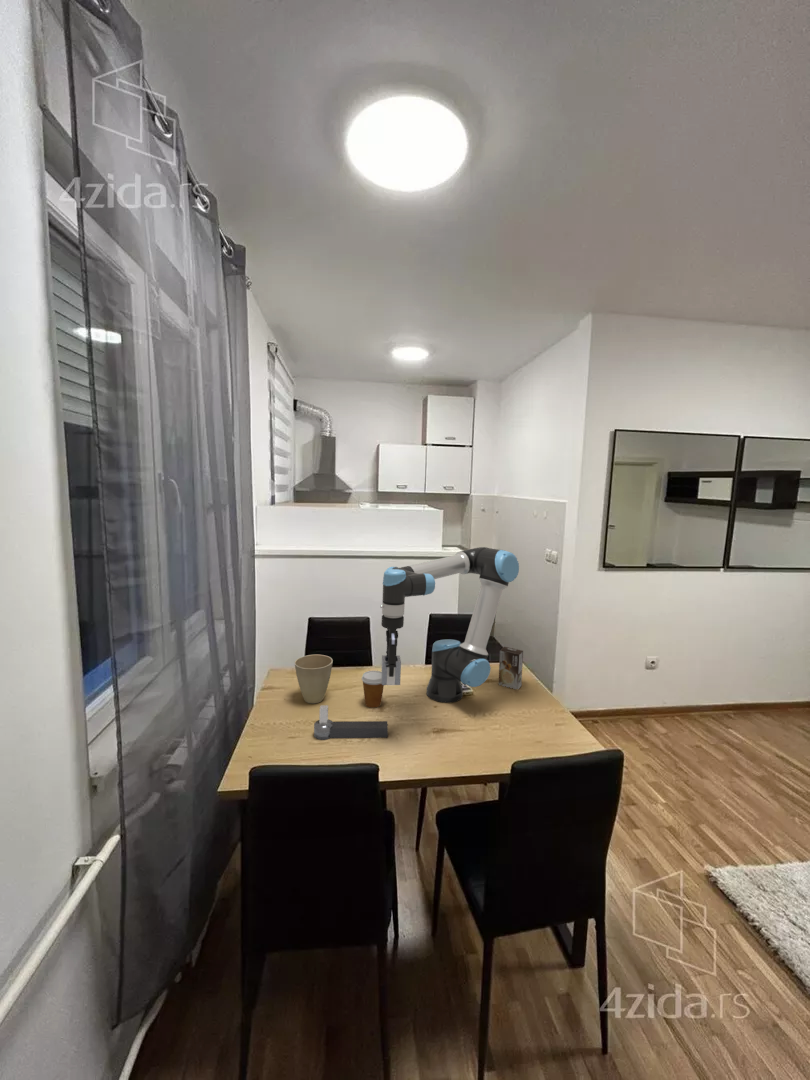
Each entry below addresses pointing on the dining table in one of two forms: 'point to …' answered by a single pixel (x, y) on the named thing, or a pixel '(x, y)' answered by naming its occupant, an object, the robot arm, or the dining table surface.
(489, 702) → the dining table surface
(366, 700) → the disposable coffee cup
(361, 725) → the ratchet
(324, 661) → the plant pot
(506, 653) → the coffee box
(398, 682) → the socket
